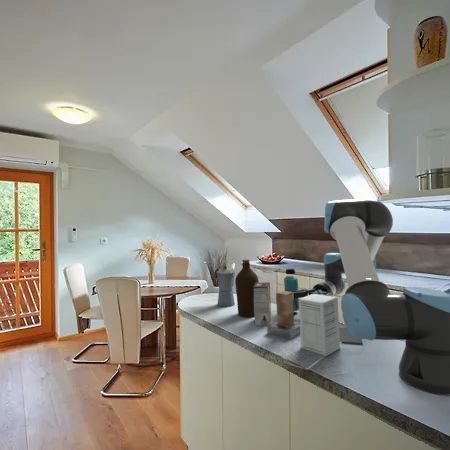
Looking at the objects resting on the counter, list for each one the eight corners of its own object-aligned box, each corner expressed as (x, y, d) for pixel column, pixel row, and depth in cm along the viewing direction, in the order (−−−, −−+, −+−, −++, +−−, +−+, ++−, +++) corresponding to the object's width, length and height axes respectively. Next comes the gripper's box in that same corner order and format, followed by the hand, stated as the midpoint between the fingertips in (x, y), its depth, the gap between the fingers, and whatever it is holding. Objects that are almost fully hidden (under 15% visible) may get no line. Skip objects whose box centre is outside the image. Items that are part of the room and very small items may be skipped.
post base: (304, 332, 119) (304, 323, 119) (290, 340, 112) (290, 331, 112) (282, 327, 126) (282, 318, 126) (267, 334, 119) (266, 325, 119)
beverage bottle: (292, 315, 140) (290, 270, 140) (281, 312, 146) (280, 269, 145) (302, 312, 144) (300, 268, 143) (292, 309, 149) (290, 267, 149)
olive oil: (249, 319, 138) (246, 262, 137) (232, 315, 145) (229, 260, 145) (264, 313, 145) (262, 259, 145) (247, 309, 153) (245, 257, 152)
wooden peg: (294, 332, 119) (292, 292, 119) (287, 335, 116) (286, 294, 116) (284, 329, 122) (282, 290, 122) (277, 332, 119) (276, 293, 119)
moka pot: (228, 309, 155) (226, 268, 154) (208, 304, 166) (206, 266, 166) (242, 305, 161) (240, 265, 161) (222, 300, 173) (220, 263, 172)
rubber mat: (362, 344, 106) (362, 342, 106) (325, 341, 110) (324, 340, 110) (359, 330, 119) (359, 328, 119) (325, 328, 123) (325, 326, 123)
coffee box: (256, 319, 138) (255, 282, 138) (271, 319, 137) (270, 282, 136) (254, 326, 129) (252, 286, 129) (270, 326, 128) (268, 286, 127)
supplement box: (341, 348, 104) (339, 297, 104) (326, 357, 98) (323, 303, 97) (315, 340, 111) (313, 292, 111) (299, 349, 105) (297, 298, 105)
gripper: (352, 303, 133) (328, 316, 117) (299, 295, 150) (273, 306, 135) (351, 285, 132) (328, 296, 117) (298, 279, 150) (272, 288, 134)
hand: (298, 301), depth 126 cm, fingers open, 13 cm apart
